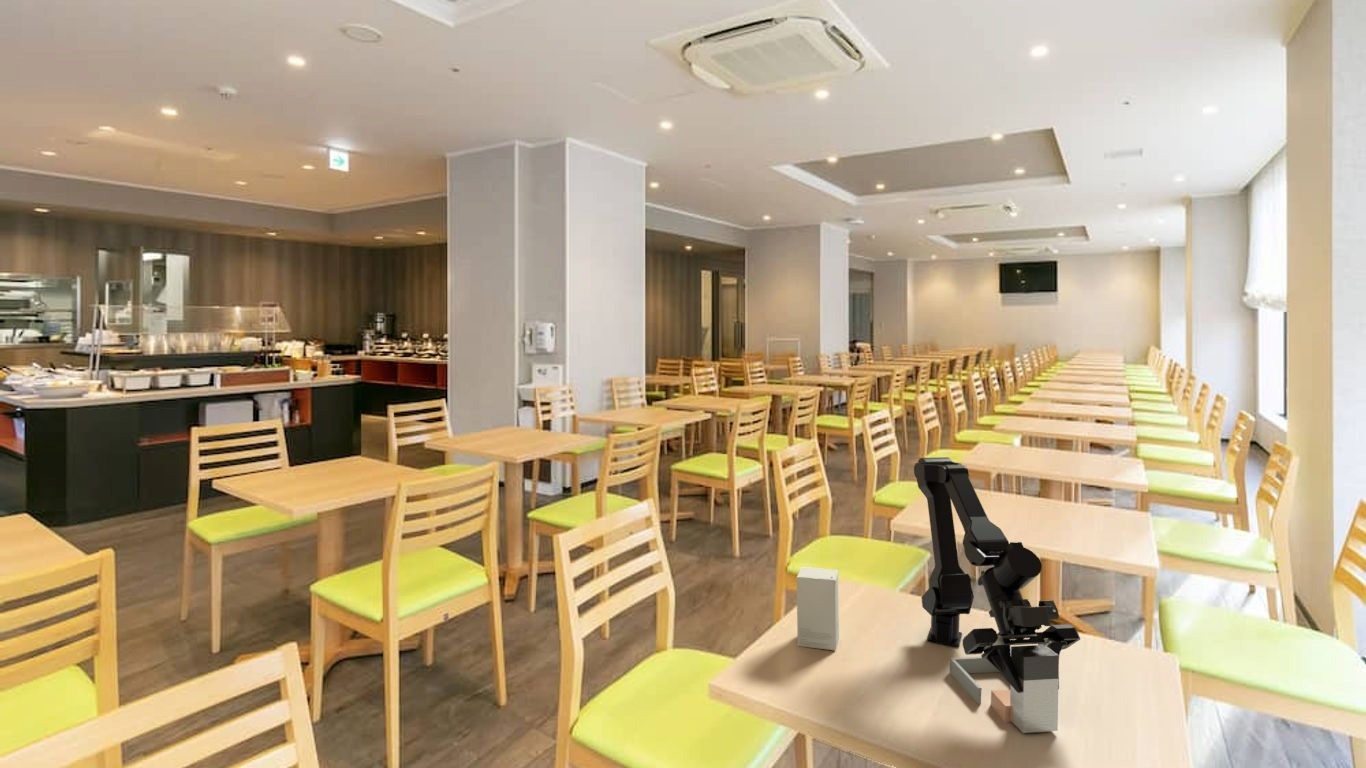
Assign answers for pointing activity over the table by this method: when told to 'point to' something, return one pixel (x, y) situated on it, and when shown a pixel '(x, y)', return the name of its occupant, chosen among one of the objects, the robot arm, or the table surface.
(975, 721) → the table surface
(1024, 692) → the gray capped pillar
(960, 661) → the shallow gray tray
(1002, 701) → the tan block
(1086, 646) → the table surface
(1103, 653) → the table surface
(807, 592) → the skincare box
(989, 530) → the robot arm
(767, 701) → the table surface
